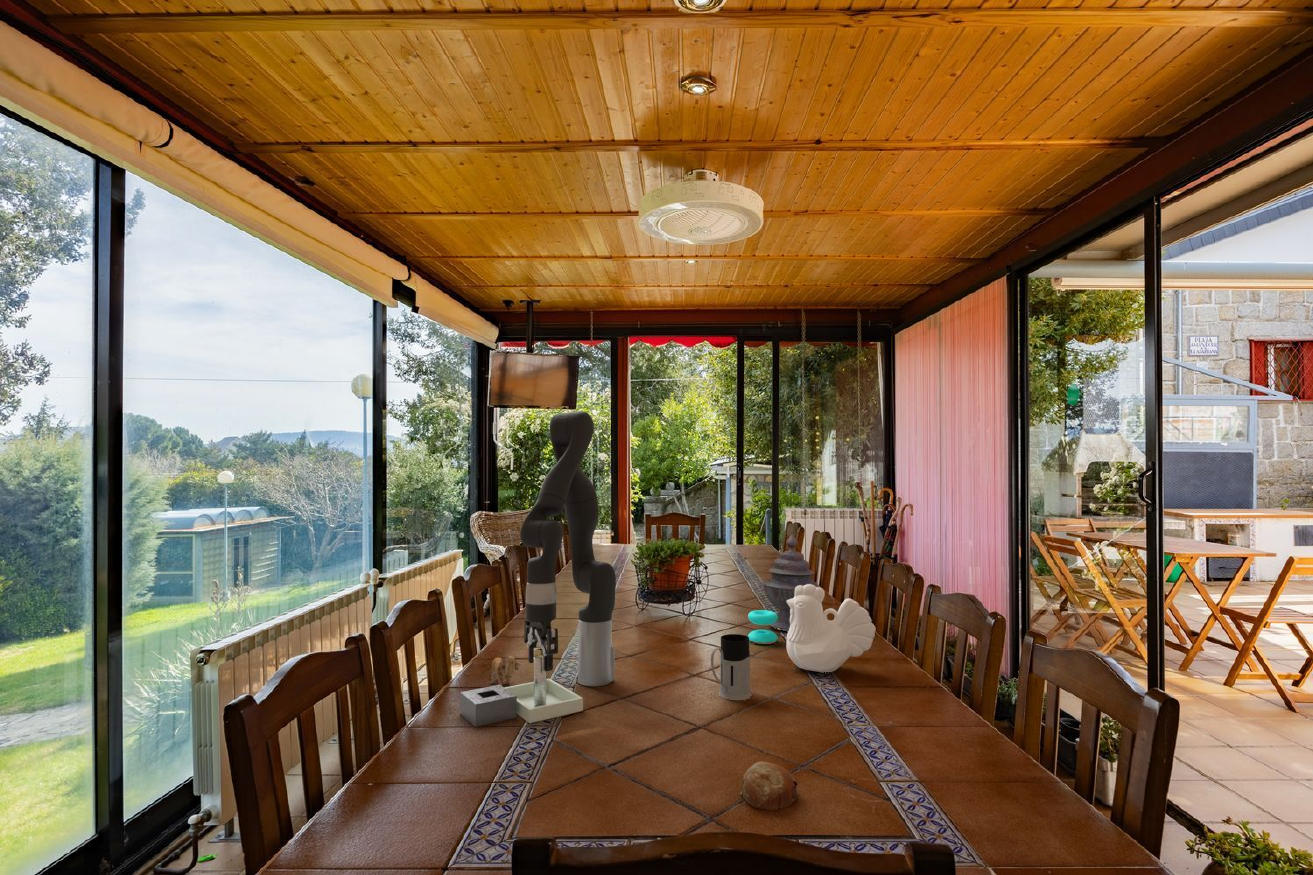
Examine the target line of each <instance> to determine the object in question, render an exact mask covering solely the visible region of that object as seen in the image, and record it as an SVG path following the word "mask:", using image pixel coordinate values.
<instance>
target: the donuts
mask: <svg viewBox="0 0 1313 875" xmlns="http://www.w3.org/2000/svg"><path fill="white" fill-rule="evenodd" d="M747 618H748V620H749V621H750V623H752V624H754V625H761V626H769V625H770V624H773V623H775V622H776V621H777V619H778V613H776V612H774V611H772V610H766V609H757V610H752V611H750V612H749V613H748V615H747ZM747 636H748V637H749V640H750V641H754V642H761V643H766V642H774V641H776V640H777V639H779V637H778V635H777V633H775V632H774V631H773V630H770V629H755V630H752V631H750V632H749V633H748V635H747ZM750 641H749V642H750ZM777 641H778V640H777Z"/></svg>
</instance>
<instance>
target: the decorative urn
mask: <svg viewBox="0 0 1313 875" xmlns="http://www.w3.org/2000/svg"><path fill="white" fill-rule="evenodd" d="M785 543H786V546H787V547H789V548H788V549H789V550H784V551H783V552H781V553H780V554H779V557H778V558H776V559H775V560H773V567H771V568H769V569H768V570H767V571H768V572H769V573H771V578H767V579H765V580H763V582H762V584H763V589H764V592H765V594H766V595H765V596H766V597H767V598H768V600H769V602H771V604H772V606H774V607H776V608H777V609H778V610H779V611H778V613H777V616H778V619H777V621H776V622H775V623H773V624H770V625H771V626H772V627H774V628H780V629H786V630H789V628H790V625H791V624H790V609H791V608H790V607H789V605H788V604H787V602H786V601H787V600H789V599H792V598H794V596H795V588H796V587H797V586H799V585H802V586H804V585H807V584H812V585H814V586H816V587H820V585H819V584H818V583H817V582H815V581H812V576H813V575H814V574H815V572H814V570H811V569H810V567H811V566H810V563H809V561H808V560H806V559H805V558H804V554H803V553H802V552H799V551H796V550H795V548H797V546H798V545H799V542H798V540H797V538H796V536H795V535H794V534H793V533H791V534H790V535H789V538H786V541H785Z"/></svg>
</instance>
